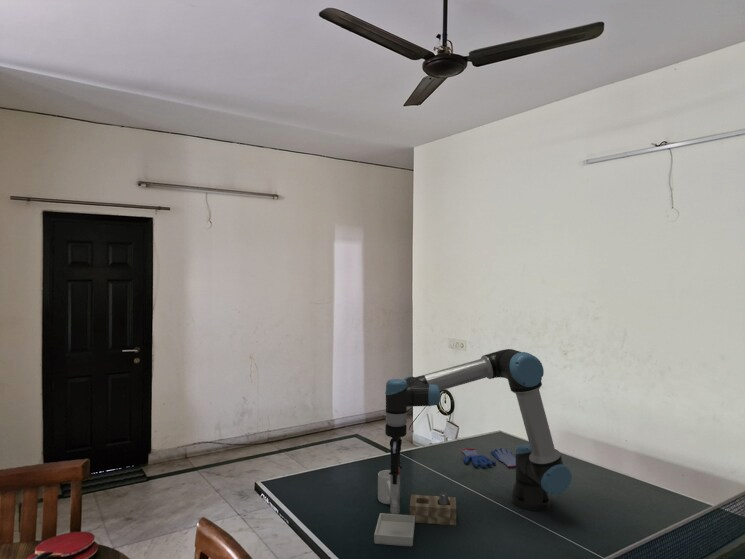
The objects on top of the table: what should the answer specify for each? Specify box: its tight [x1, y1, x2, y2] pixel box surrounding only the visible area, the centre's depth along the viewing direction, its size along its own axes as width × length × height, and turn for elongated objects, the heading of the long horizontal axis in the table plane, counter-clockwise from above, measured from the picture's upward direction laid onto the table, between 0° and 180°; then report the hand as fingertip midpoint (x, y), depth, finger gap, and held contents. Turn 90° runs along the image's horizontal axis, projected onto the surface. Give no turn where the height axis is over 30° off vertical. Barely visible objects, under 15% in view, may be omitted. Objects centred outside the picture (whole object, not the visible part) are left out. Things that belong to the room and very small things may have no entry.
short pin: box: [438, 492, 449, 505], centre depth 186 cm, size 3×3×9 cm
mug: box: [377, 469, 391, 505], centre depth 200 cm, size 9×12×11 cm
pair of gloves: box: [461, 447, 516, 470], centre depth 249 cm, size 32×26×4 cm
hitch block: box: [409, 494, 457, 526], centre depth 187 cm, size 17×10×6 cm, turn 82°
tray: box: [373, 512, 416, 547], centre depth 174 cm, size 13×16×3 cm
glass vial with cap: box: [389, 467, 401, 514], centre depth 175 cm, size 3×3×16 cm
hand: (395, 490), depth 175 cm, fingers closed on glass vial with cap, 3 cm apart
